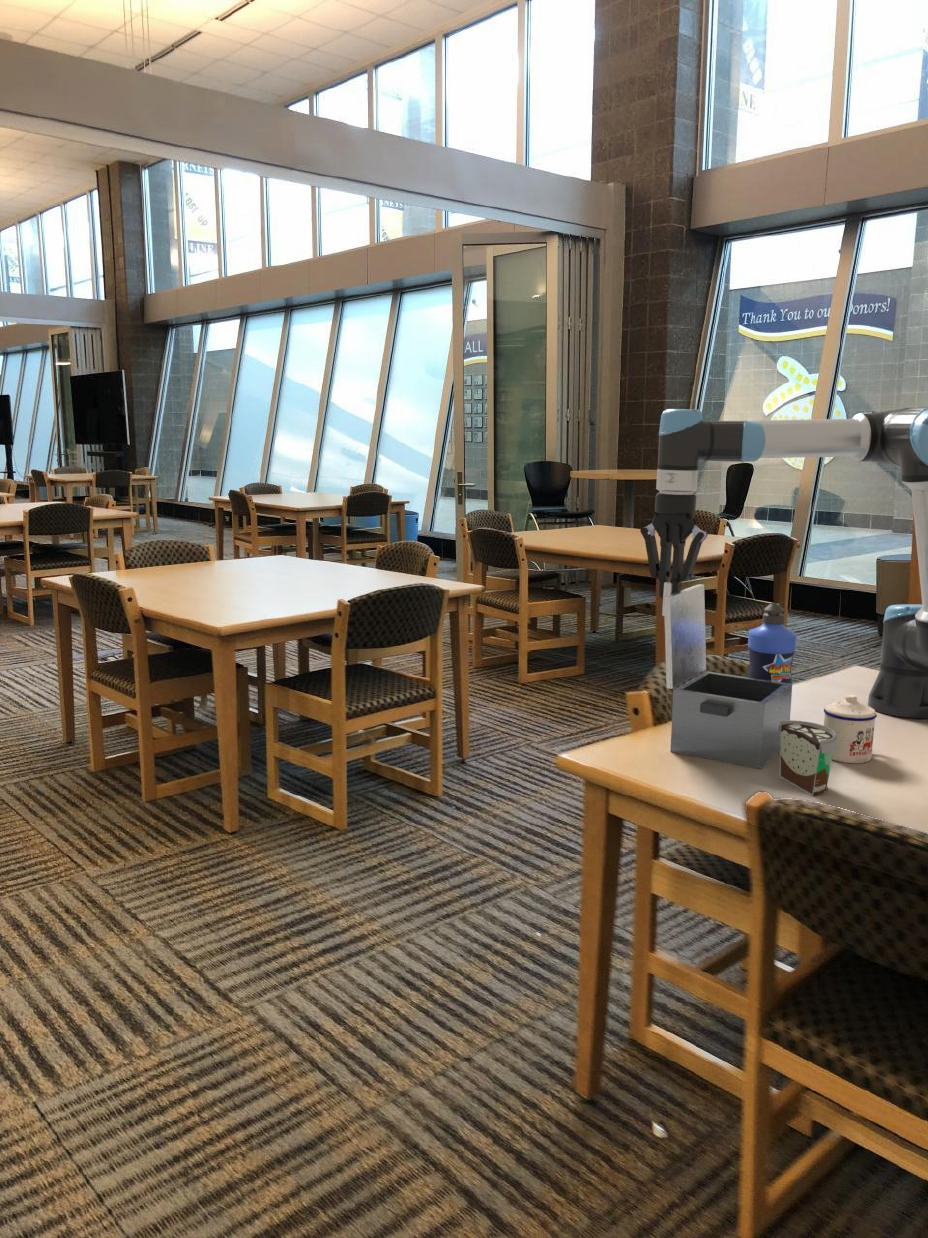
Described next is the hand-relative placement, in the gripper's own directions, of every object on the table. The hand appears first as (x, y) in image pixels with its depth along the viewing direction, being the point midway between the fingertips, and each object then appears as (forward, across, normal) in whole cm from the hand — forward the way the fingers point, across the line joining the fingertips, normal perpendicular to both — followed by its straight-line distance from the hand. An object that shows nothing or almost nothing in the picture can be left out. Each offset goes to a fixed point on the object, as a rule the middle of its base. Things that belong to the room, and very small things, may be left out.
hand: (668, 614), depth 187 cm
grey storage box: (+24, +14, 0) cm, 28 cm away
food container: (+24, +32, -11) cm, 41 cm away
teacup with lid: (+24, +34, +9) cm, 43 cm away
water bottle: (+24, +15, +20) cm, 35 cm away
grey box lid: (+3, +4, 0) cm, 6 cm away
